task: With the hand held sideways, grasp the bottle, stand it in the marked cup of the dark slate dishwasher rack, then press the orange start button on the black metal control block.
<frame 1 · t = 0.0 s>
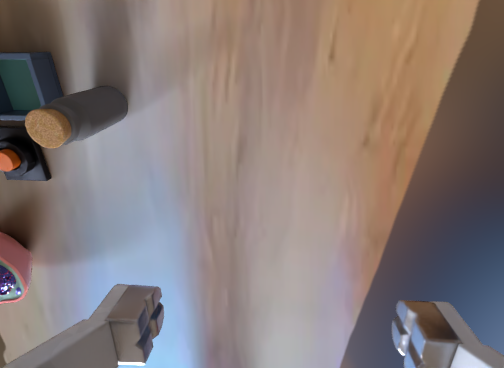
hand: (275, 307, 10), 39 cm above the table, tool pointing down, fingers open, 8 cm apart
rack: (6, 84, 46), on the table
cell model: (10, 248, 63), on the table
bottle: (111, 104, 47), on the table
control block: (22, 153, 52), on the table
start button: (6, 160, 49), point 3 cm above the table, slide at 0.1 cm
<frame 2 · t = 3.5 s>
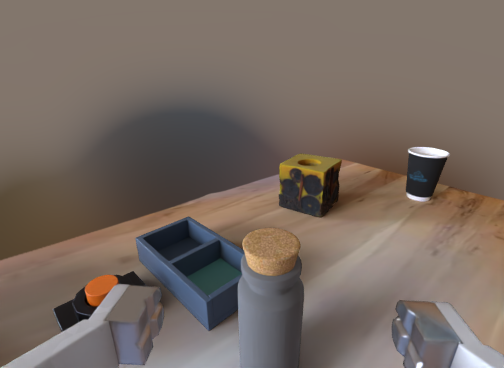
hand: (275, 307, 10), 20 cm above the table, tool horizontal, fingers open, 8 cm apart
rack: (197, 274, 42), on the table
candle: (308, 204, 63), on the table
control block: (108, 311, 36), on the table
start button: (103, 290, 34), point 3 cm above the table, slide at 0.1 cm
dixie cup: (417, 197, 66), on the table
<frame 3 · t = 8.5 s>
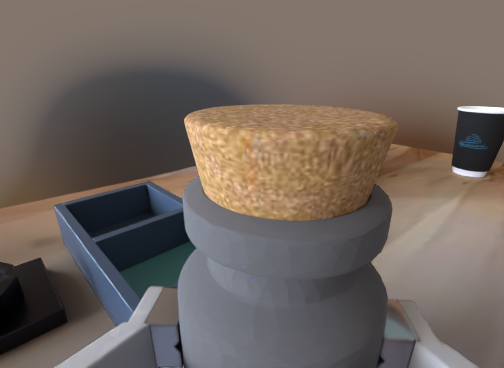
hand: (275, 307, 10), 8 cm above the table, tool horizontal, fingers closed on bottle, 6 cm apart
rack: (151, 264, 25), on the table
dixie cup: (468, 173, 50), on the table
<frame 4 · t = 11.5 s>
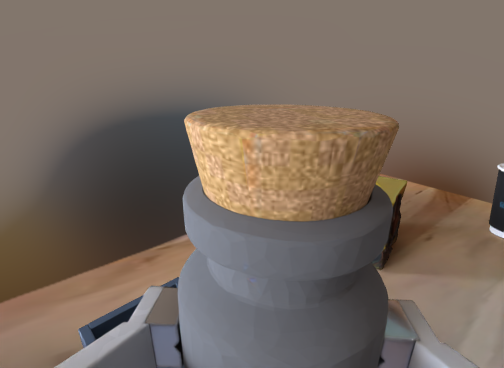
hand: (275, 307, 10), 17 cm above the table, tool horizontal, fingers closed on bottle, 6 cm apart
candle: (355, 244, 44), on the table
when the fingers open (9 cm above the table, at t = 14.9 s): bottle stays where it is, resting on rack.
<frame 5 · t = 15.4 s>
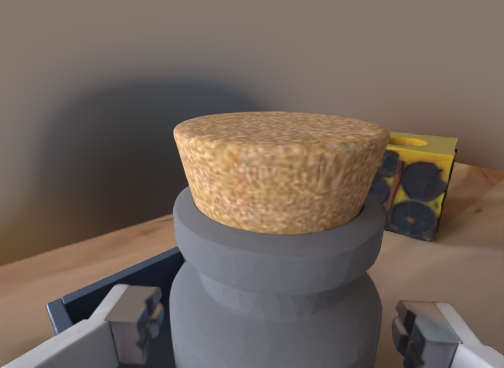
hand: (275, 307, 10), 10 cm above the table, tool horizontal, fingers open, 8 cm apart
candle: (392, 217, 37), on the table
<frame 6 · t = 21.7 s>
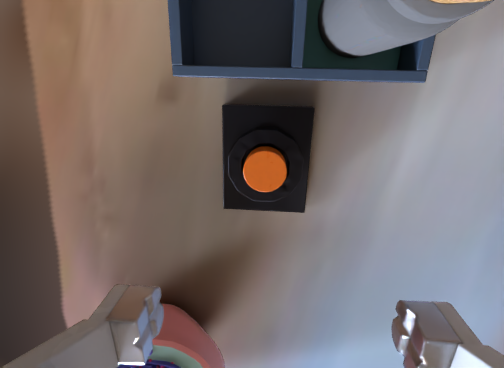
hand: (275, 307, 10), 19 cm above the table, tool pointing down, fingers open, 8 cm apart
rack: (296, 17, 23), on the table
cell model: (164, 329, 36), on the table
bottle: (354, 18, 22), point 1 cm above the table, touching rack
control block: (265, 158, 27), on the table
start button: (265, 168, 24), point 3 cm above the table, slide at 0.1 cm
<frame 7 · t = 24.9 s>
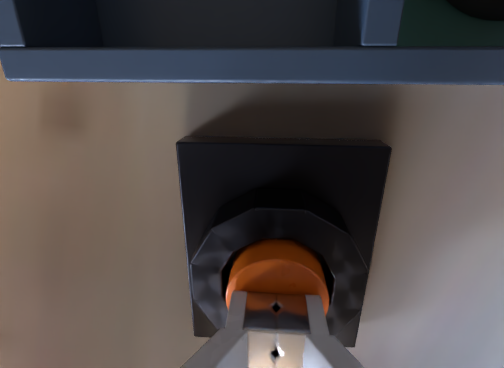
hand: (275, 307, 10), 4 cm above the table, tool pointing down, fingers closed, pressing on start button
control block: (276, 242, 13), on the table
start button: (276, 285, 11), point 3 cm above the table, slide at -0.5 cm, touching gripper
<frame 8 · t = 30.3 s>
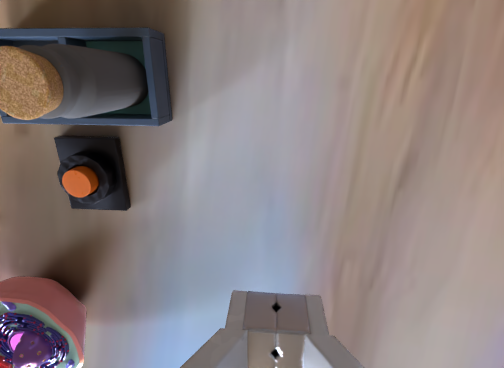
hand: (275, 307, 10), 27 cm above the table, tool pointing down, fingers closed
rack: (93, 78, 34), on the table
cell model: (55, 299, 48), on the table
bottle: (126, 80, 33), point 1 cm above the table, touching rack
control block: (96, 172, 38), on the table
start button: (80, 181, 35), point 3 cm above the table, slide at 0.1 cm
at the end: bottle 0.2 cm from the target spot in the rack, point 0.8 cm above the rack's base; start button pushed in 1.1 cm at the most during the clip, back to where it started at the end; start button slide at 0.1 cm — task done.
